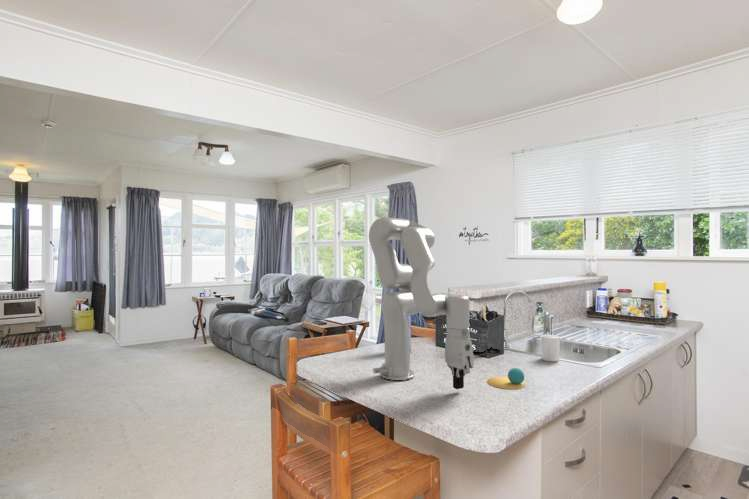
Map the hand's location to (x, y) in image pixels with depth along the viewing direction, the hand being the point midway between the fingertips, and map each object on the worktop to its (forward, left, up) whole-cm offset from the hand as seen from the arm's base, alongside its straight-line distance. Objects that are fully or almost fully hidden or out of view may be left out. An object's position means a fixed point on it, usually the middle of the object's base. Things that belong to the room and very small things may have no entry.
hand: (458, 387), depth 138 cm
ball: (+23, -2, +1) cm, 24 cm away
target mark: (+21, 0, -2) cm, 21 cm away
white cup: (+61, +15, -2) cm, 63 cm away
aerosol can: (+11, +55, -2) cm, 56 cm away
